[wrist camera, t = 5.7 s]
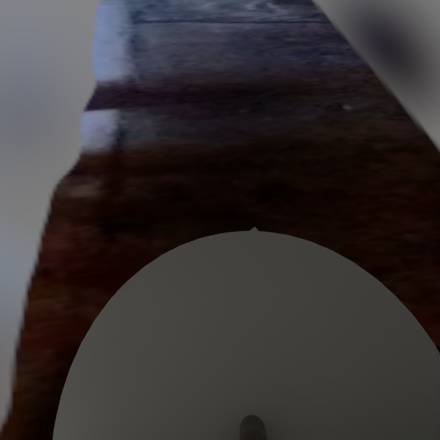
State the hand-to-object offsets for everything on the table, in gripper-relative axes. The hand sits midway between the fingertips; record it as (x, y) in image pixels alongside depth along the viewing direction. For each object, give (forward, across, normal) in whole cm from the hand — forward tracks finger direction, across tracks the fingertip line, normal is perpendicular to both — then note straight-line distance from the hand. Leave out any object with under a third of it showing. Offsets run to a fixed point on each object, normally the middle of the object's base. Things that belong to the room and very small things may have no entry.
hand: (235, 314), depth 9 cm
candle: (+4, 0, +6) cm, 7 cm away
